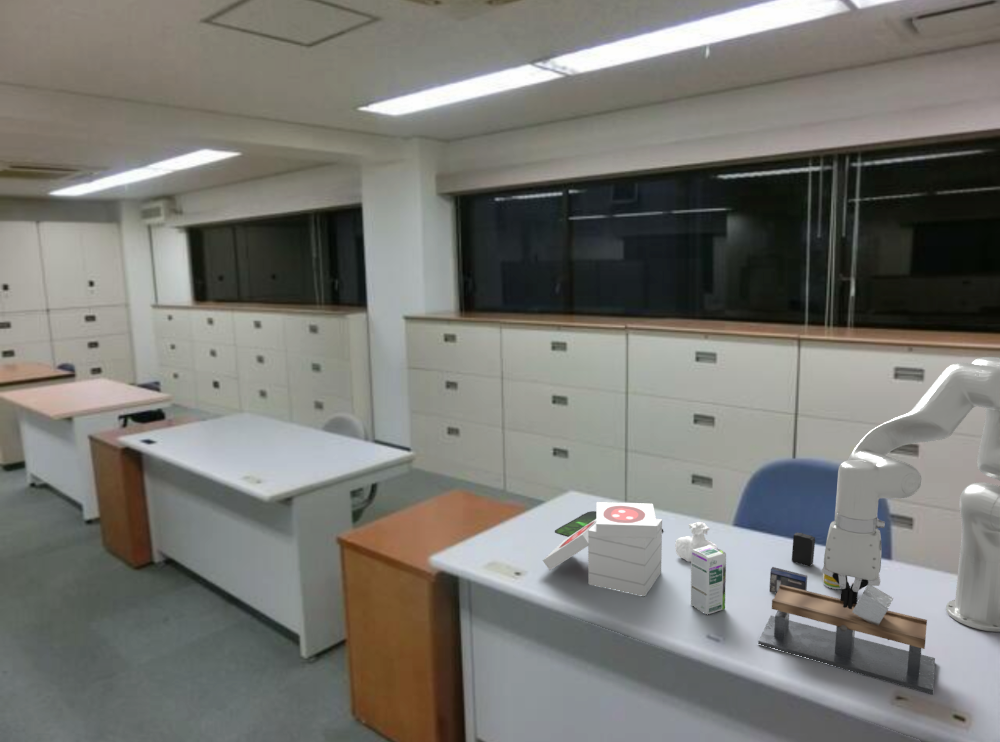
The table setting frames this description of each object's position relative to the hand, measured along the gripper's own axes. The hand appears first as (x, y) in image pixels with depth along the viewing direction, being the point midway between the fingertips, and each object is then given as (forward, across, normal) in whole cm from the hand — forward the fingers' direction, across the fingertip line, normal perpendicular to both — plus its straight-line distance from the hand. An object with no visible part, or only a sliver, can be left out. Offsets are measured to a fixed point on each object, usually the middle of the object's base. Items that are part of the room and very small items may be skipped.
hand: (848, 605), depth 141 cm
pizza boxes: (+12, +58, -7) cm, 60 cm away
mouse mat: (+12, +69, -33) cm, 78 cm away
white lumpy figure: (+12, +40, -28) cm, 50 cm away
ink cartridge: (+11, +15, -40) cm, 45 cm away
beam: (+3, 0, 0) cm, 3 cm away
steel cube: (+1, -4, 0) cm, 4 cm away
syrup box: (+12, +30, -4) cm, 33 cm away
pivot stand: (+11, 0, 0) cm, 11 cm away
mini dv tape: (+11, +15, -20) cm, 28 cm away
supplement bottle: (+11, +6, -31) cm, 34 cm away
